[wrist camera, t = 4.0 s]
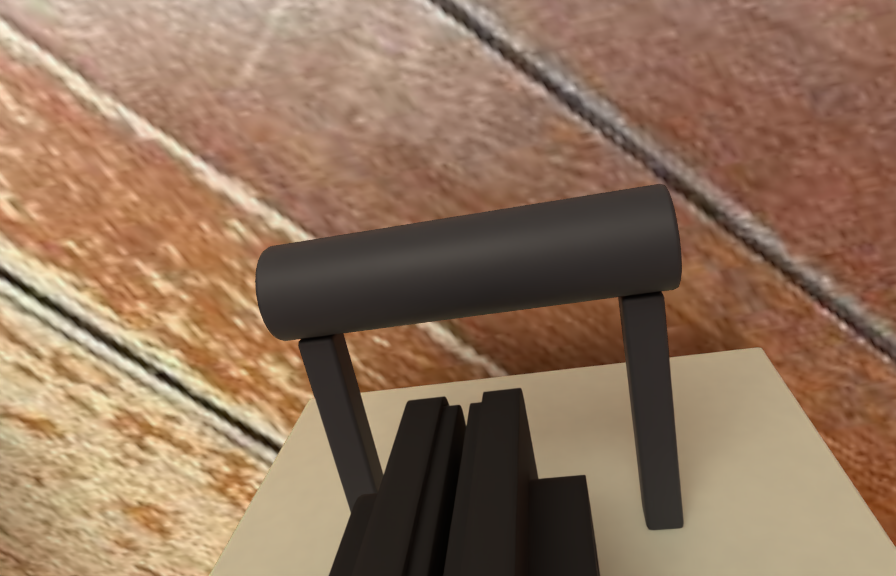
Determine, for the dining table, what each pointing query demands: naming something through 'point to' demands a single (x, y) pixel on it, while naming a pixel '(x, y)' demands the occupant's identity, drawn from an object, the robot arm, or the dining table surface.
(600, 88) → the dining table surface
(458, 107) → the dining table surface
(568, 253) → the drawer
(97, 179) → the dining table surface
